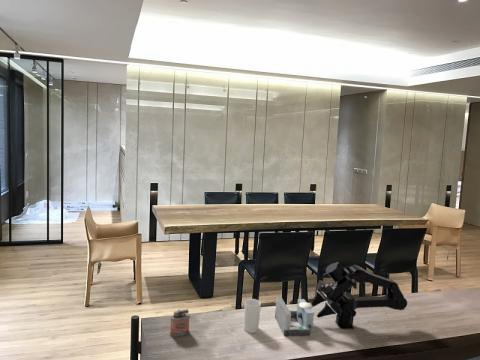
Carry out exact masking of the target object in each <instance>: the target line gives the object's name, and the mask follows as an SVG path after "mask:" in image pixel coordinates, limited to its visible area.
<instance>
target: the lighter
mask: <svg viewBox="0 0 480 360" xmlns="http://www.w3.org/2000/svg"><path fill="white" fill-rule="evenodd" d="M190 318H191V314H190V313H189V309H188V308H186V309H182V310H181V309H178V310H176V311H173V315H172V316H170V331H169V336H170V335H171V336H170V337H179V335H181V336H184V334H185V335H187V334H190Z"/></svg>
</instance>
